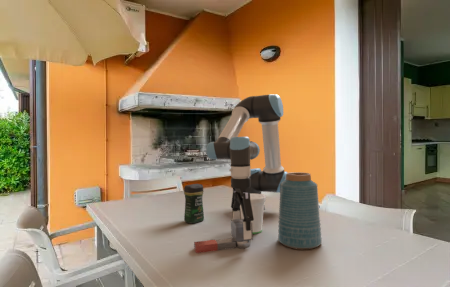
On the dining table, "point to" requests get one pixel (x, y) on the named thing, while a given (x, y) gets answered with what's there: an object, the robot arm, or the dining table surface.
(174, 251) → the dining table surface
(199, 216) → the coffee jar
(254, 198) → the cup
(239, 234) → the grey wooden cube
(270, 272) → the dining table surface
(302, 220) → the vase
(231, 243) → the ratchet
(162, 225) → the dining table surface
